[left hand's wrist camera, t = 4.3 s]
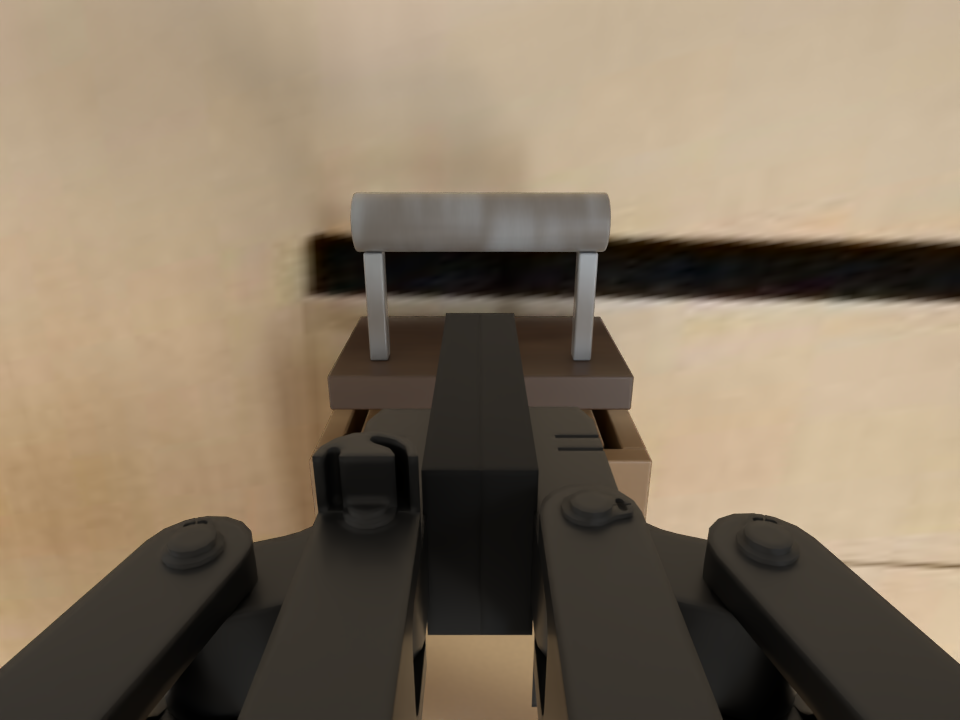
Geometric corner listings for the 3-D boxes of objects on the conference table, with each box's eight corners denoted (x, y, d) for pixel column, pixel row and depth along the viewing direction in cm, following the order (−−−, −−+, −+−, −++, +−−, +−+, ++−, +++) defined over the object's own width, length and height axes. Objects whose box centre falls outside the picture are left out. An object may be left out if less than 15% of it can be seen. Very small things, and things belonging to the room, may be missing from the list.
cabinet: (354, 365, 28) (308, 460, 20) (607, 365, 28) (653, 460, 20) (381, 710, 35) (354, 872, 28) (579, 710, 35) (606, 872, 28)
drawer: (350, 176, 24) (309, 200, 18) (611, 176, 24) (651, 200, 18) (386, 674, 33) (366, 794, 27) (574, 674, 33) (594, 794, 27)
